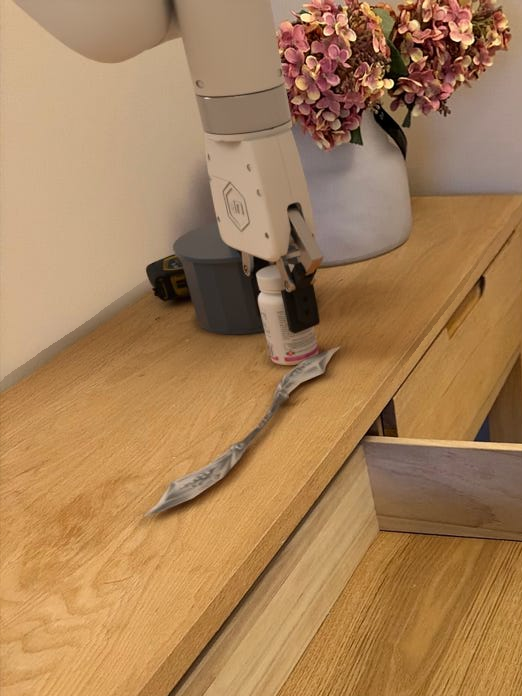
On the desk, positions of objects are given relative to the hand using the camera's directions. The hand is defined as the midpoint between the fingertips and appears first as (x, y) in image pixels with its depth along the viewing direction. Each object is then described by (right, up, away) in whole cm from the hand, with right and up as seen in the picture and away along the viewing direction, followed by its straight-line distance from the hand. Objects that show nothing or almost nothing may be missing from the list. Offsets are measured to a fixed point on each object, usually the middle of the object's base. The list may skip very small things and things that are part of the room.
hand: (288, 319), depth 95 cm
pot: (-6, +5, +13) cm, 15 cm away
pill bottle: (0, -3, +3) cm, 4 cm away
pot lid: (-7, +11, +8) cm, 15 cm away
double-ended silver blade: (-1, -12, -9) cm, 15 cm away
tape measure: (-16, +9, +19) cm, 26 cm away
